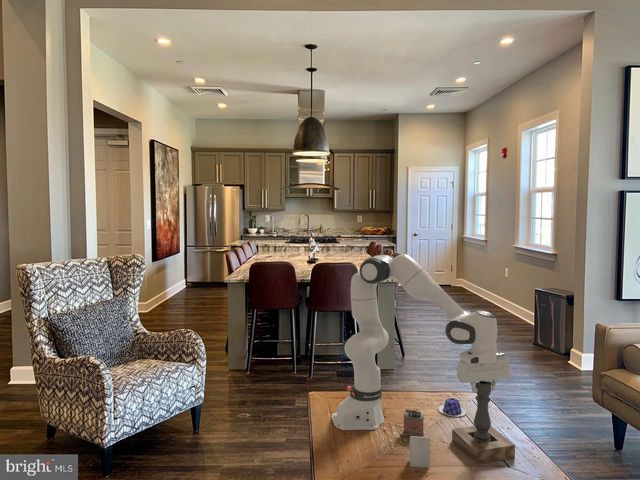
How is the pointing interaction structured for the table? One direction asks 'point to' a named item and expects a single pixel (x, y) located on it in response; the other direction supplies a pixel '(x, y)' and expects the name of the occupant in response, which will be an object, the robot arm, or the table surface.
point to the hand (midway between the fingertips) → (483, 391)
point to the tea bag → (419, 451)
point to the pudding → (452, 408)
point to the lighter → (413, 423)
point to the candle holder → (482, 412)
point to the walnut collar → (483, 445)
